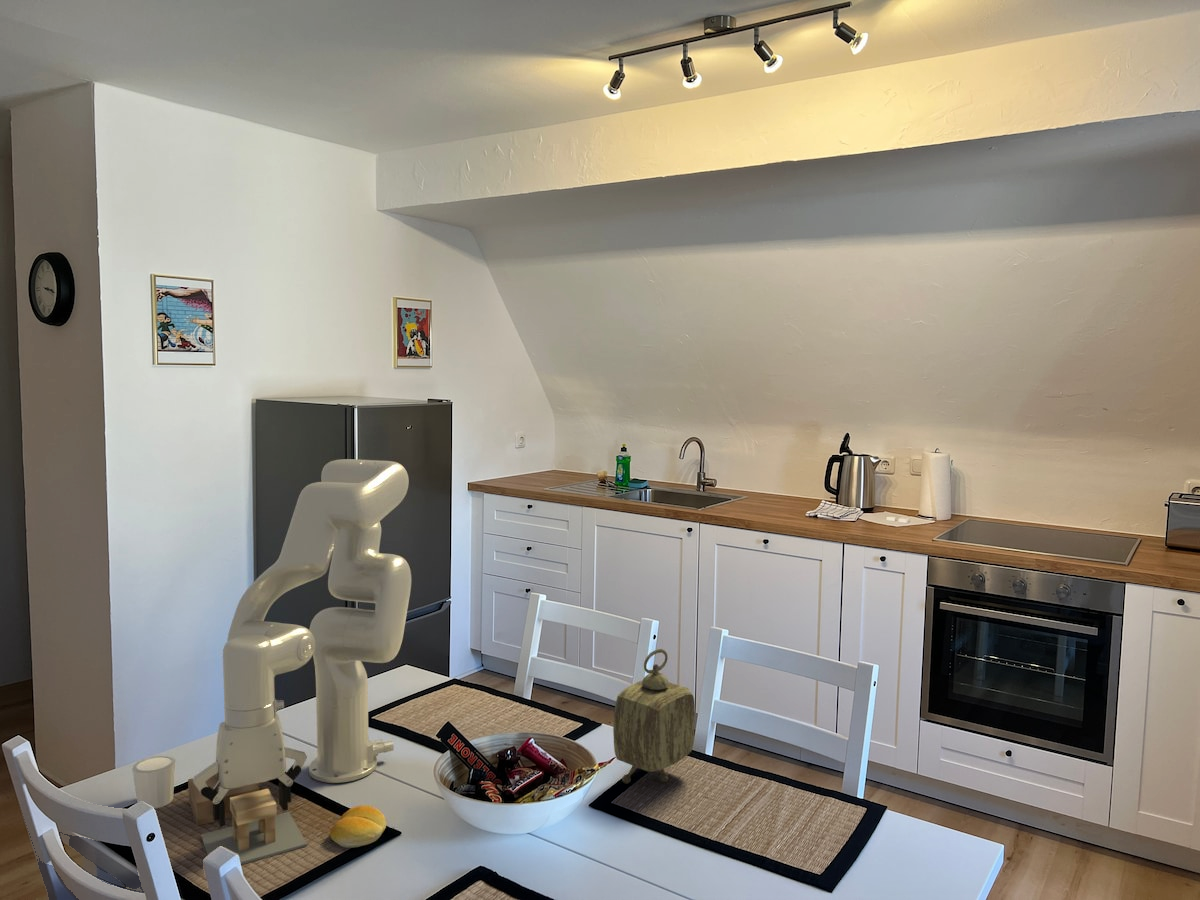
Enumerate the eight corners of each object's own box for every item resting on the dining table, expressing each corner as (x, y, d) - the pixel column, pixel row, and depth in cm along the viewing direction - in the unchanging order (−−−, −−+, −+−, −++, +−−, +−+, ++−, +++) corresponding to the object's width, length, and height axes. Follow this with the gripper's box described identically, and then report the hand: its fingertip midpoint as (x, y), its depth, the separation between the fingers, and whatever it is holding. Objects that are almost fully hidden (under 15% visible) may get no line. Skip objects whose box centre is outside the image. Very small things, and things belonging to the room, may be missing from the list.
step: (248, 786, 160) (247, 765, 159) (259, 810, 151) (259, 788, 151) (188, 800, 154) (188, 779, 154) (197, 825, 146) (196, 803, 145)
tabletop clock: (659, 758, 173) (661, 636, 170) (696, 773, 167) (699, 646, 164) (612, 784, 162) (614, 654, 160) (650, 800, 156) (653, 665, 154)
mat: (289, 813, 150) (288, 811, 150) (307, 846, 140) (306, 843, 140) (201, 836, 142) (201, 834, 142) (213, 872, 132) (213, 870, 132)
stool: (269, 825, 145) (268, 788, 145) (277, 841, 140) (276, 803, 140) (230, 835, 142) (229, 797, 141) (238, 852, 137) (236, 813, 136)
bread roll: (322, 847, 140) (322, 823, 140) (348, 819, 149) (348, 797, 148) (370, 853, 139) (369, 829, 138) (393, 824, 147) (393, 801, 147)
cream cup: (159, 813, 150) (157, 774, 149) (124, 808, 151) (123, 770, 151) (185, 794, 157) (184, 756, 156) (152, 790, 158) (150, 753, 157)
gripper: (299, 695, 147) (301, 791, 149) (187, 716, 138) (191, 819, 139) (310, 710, 141) (313, 810, 142) (194, 733, 131) (198, 840, 133)
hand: (252, 814), depth 141 cm, fingers open, 9 cm apart
